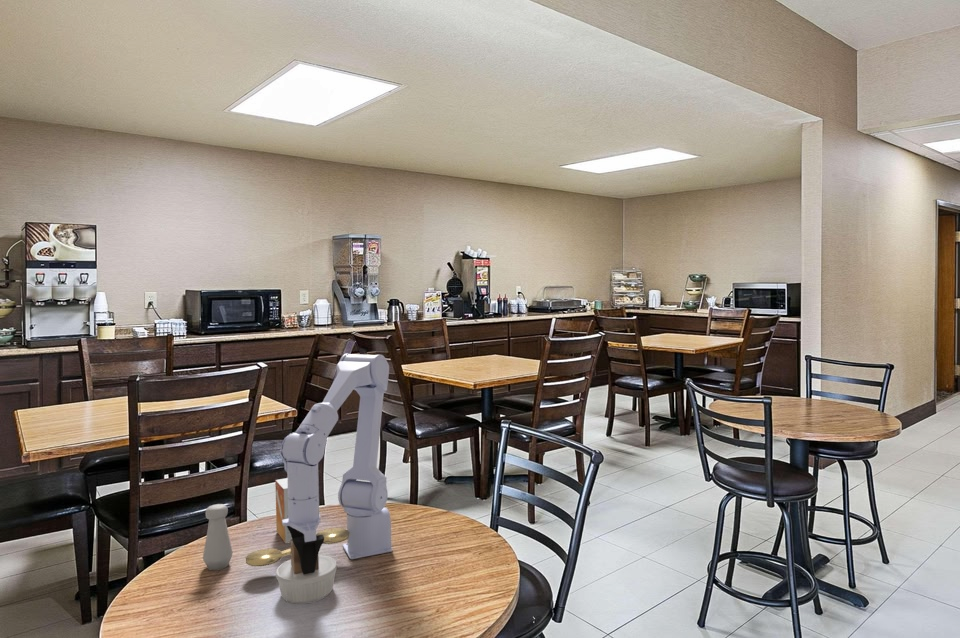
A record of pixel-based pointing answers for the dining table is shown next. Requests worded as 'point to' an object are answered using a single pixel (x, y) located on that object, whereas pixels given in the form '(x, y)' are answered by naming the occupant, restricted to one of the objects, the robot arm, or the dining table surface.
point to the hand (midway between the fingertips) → (305, 564)
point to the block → (298, 560)
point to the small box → (282, 508)
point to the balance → (275, 555)
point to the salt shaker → (217, 539)
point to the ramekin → (306, 581)
